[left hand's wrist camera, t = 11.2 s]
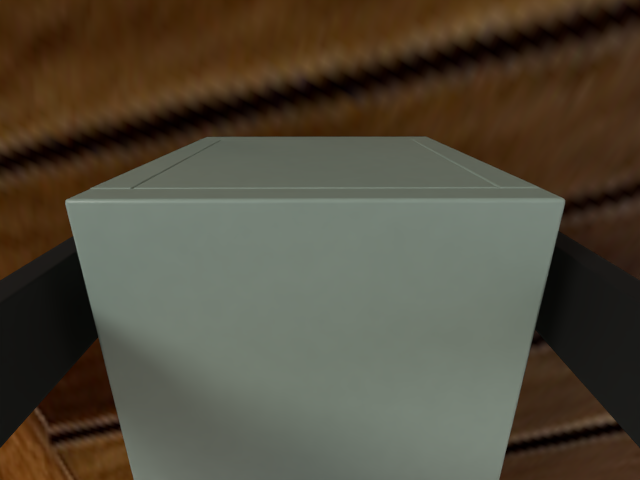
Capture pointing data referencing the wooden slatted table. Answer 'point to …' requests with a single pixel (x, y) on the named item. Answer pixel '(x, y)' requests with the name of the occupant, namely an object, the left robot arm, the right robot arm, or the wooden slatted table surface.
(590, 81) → the wooden slatted table surface
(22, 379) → the left robot arm
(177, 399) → the cabinet
